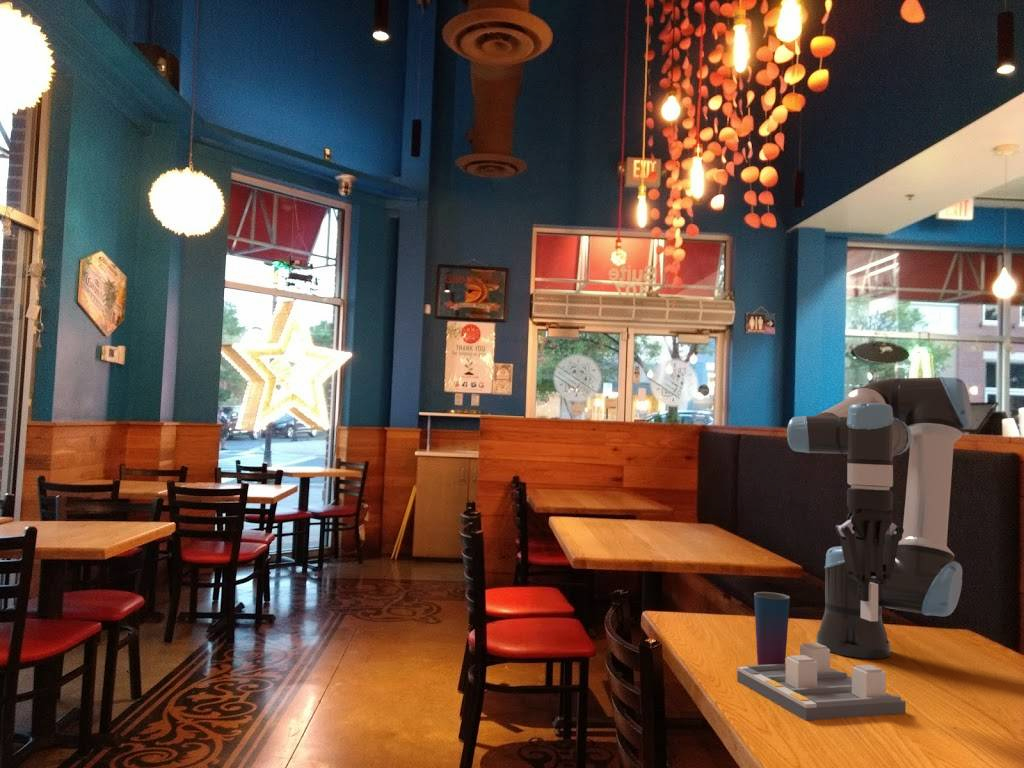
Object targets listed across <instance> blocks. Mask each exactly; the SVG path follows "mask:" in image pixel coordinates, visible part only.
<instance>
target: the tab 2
mask: <svg viewBox="0 0 1024 768" xmlns="http://www.w3.org/2000/svg"><path fill="white" fill-rule="evenodd" d="M886 673H887V672H886V671H883V669H882V668H879V667H878V666H875V665H872V664H861V665H860V664H858V665H857V664H856V665H855V666H851V677H852V694H854V695H856V696H858V697H860V698H863V697H879V696H886V693H887V691H886V689H887V688H886V687H887V685H886V683H887V681H886V676H887V675H886Z"/></svg>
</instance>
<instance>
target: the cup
mask: <svg viewBox="0 0 1024 768" xmlns="http://www.w3.org/2000/svg"><path fill="white" fill-rule="evenodd" d="M753 599H754V620H755V621H754V622H755V638H756V639H755V640H756V641H755V643H756V656H757V657H756V658H757V661H756V662H757V663H756V664H757V665H768V664H786V656H787V642H788V630H789V629H788V628H789V613H790V602H791V601H790V600H791V597H790V595H787V594H784V593H780V592H779V593H778V592H769V591H757V592H754V593H753Z"/></svg>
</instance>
